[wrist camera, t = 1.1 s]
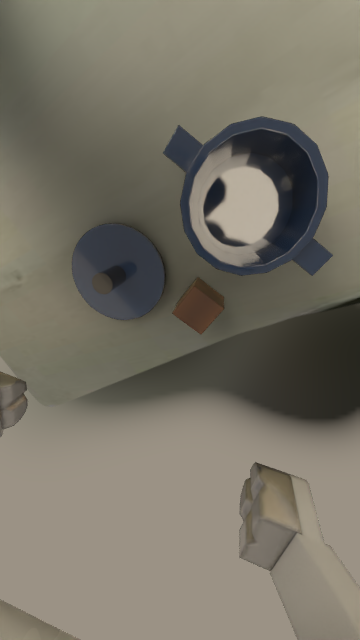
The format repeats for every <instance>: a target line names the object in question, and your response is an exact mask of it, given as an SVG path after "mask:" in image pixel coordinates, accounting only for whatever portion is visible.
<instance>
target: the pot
mask: <svg viewBox="0 0 360 640" xmlns="http://www.w3.org/2000/svg"><path fill="white" fill-rule="evenodd" d="M163 154H164V155H165V156H166V157H167V158H169V159H170V160H171V161H172V162H174V163H175V164H176V165H177V166H178V167H180V168H181V169H182V170H183V171H184V172H186V177H185V182H184V186H183V191H182V196H181V200H180V202H181V203H180V206H181V213H182V220H183V227H184V232H185V233H186V235H187V237H188V239H189V240H190V242H191V244H192V246H193V248H194V249H195V251H196V253H197V254H198V255H199V256H201V257H202V258H203V259H204V260H206V261H207V262H208V263H210V264H211V265H212V266H213V267H215V268H216V269H218V270H222V271H226V272H229V273H233V274H237V275H241V276H243V275H251V274H260V273H267V272H269V271H271V270H273V269H275V268H277V267H279V266H281V265H283V264H285V263H287V262H289V261H291V260H293V261H294V262H295V263H296V264H298V265H299V266H300V267H301V268H302V269H304V270H305V271H306V272H307V273H309V274H310V275H311V276H313V275H314V274H315V273H316V272H317V271H318V270H319V269H320V268H321V267H322V266H323V265H324V264H325V263H326V262H327V261H328V260H329V259H330V258H331V257H332V256H333V255H332V254H331V253H330V252H329V251H328V250H326V249H325V248H324V247H323V246H322V245H321V244H319V243H318V242H317V241H316V240H315V239H313V237H314V235H315V233H316V230H317V228H318V226H319V224H320V221H321V219H322V217H323V215H324V212H325V210H326V207H327V193H328V172H327V170H326V167H325V164H324V162H323V159H322V156H321V154H320V151H319V148H318V146H317V144H316V143H315V142H314V141H312V140H311V139H310V138H309V137H308V136H307V135H306V134H305V133H304V132H302V131H301V130H300V129H299V128H298V127H297V126H296V125H295V124H292V123H289V122H284V121H280V120H276V119H272V118H267V117H262V116H261V117H257V118H253V119H249V120H245V121H241V122H237V123H233V124H231V125H229V126H227V127H226V128H225V129H223V130H222V131H221V132H219V133H218V134H217V135H215V136H214V137H213V138H211V139H210V140H209V141H208V142H206V143H205V144H204V145H202V144H201V143H200V142H199V141H197V140H196V139H195V138H194V137H193V136H191V135H190V134H189V133H188V132H187V131H186V130H184V129H183V128H182V127H181V126H180V125H178V127H177V128H176V130H175V132H174V134H173V136H172V137H171V139H170V141H169V143H168V144H167V146H166V148H165V150H164V152H163Z"/></svg>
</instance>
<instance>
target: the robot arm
mask: <svg viewBox="0 0 360 640" xmlns="http://www.w3.org/2000/svg"><path fill="white" fill-rule="evenodd" d="M26 390H27V386H26V382H25V381H23V380H21V379H18V378H16V377H13V376H10V375H8V374H5V373H3V372H0V437H1V436H2V433H3V430H4V429H6V428H9V427H12V426H14V425H15V424H16V423H17V422H18V421H19V420H20V419H21V418H22V416H23V415H24V413H25V412H26V408H27V398H26V397H25V395H24V392H25V391H26ZM250 476H251V478H249V479H246V481H245V483H244V486H243V489H242V493H241V498H240V515H241V517H242V519H243V521H244V522H243V524H242V526H241V528H240V532H239V533H240V534H239V536H240V537H239V539H240V540H239V546H240V548H239V549H240V550H239V557H240V558H242V559H244V560H247V561H248V562H251V563H253V564H255V565H257V566H260V567H262V568H264V569H267V570H269V571H271V572H270V575H271V577H272V579H273V582H274V584H275V586H276V589H277V591H278V594H279V596H280V599H281V601H282V603H283V606H284V608H285V611H286V613H287V615H288V618H289V620H290V623H291V625H292V627H293V629H294V632H295V634H296V637H297V639H298V640H360V587H359V585H358V584H357V583H356V581H355V580H354V579H353V577H352V576H351V574H350V573H349V571H348V570H347V569H346V567H345V566H344V564H343V563H342V561H341V560H340V559H339V557H338V556H337V554H336V553H335V552H334V551H333V549H332V547H331V546H329V545H327V544H325V543H324V539H323V536H322V532H321V528H320V524H319V520H318V517H317V513H316V510H315V505H314V502H313V498H312V494H311V490H310V487H309V484H308V482H307V481H306V480H305V479H302V478H299V477H296V476H294V475H291V474H287V473H285V472H282V471H279V470H276V469H274V468H270V467H268V466H265V465H262V464H259V463H254V464H253V466H252V468H251V470H250ZM0 640H80V639H78V638H76V637H74V636H72V635H70V634H68V633H66V632H64V631H62V630H60V629H58V628H56V627H54V626H52V625H50V624H48V623H46V622H44V621H42V620H40V619H38V618H36V617H34V616H32V615H30V614H28V613H26V612H24V611H22V610H20V609H18V608H16V607H14V606H12V605H10V604H8V603H6V602H4V601H2V600H1V599H0Z"/></svg>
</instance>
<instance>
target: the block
mask: <svg viewBox="0 0 360 640" xmlns="http://www.w3.org/2000/svg"><path fill="white" fill-rule="evenodd" d="M223 309H224V297H223V296H222V295H220V294H219V293H218V292H217V291H215V290H214V289H213V288H211V287H210V286H209V285H207V284H206V283H205V282H204V281H202V280H201V279H200V278H198V277H197V278H196V280H195V281H194V282H193V284H192V285H191V286H190V287H189V289H188V290H187V291H186V293H185V294H184V295H183V296H182V298H181V299H180V300H179V302H178V303H177V305H176V307H175V309H174V311H173V313H172V314H174V315H175V316H176V317H178V318H179V319H180V320H182V321H183V322H184V323H186V324H187V325H188V326H190V327H191V328H193V329H194V330H195V331H197V332H198V333H199V334H202V333H203V332H204V331H205V330H206V328H207V327H208V326H209V325H210V324H211V323H212V322H213V321H214V319H215V318H216V317H217V316H218V315H219V314H220V313H221V312H222V311H223Z"/></svg>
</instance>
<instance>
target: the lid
mask: <svg viewBox="0 0 360 640" xmlns="http://www.w3.org/2000/svg"><path fill="white" fill-rule="evenodd" d="M72 272H73V278H74V281H75V284H76V287H77V289H78V291H79V292H80V294H81V296H82V297H83V298H84V300H85V301H86V302H87V303H88V304H89V305H90V306H91V307H92V308H93V309H95V310H96V311H98V312H99V313H101V314H103V315H105V316H107V317H110V318H114V319H119V320H130V319H135V318H138V317H141V316H143V315H145V314H146V313H148V312H149V311H150V310H152V309H153V308H154V306H155V305H156V304H157V303H158V301H159V299H160V298H161V295H162V293H163V290H164V285H165V269H164V265H163V261H162V258H161V256H160V254H159V252H158V250H157V249H156V247H155V246H154V244H153V243H152V242H151V241H150V240H149V239H148V238H147V237H146V236H145V235H144V234H142V233H141V232H140V231H138V230H136V229H134V228H132V227H130V226H127V225H123V224H114V223H112V224H103V225H99V226H97V227H94V228H92V229H91V230H89V231H88V232H87V233H85V234H84V235H83V236H82V238H81V239H80V240H79V242H78V243H77V245H76V248H75V250H74V253H73V258H72Z"/></svg>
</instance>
